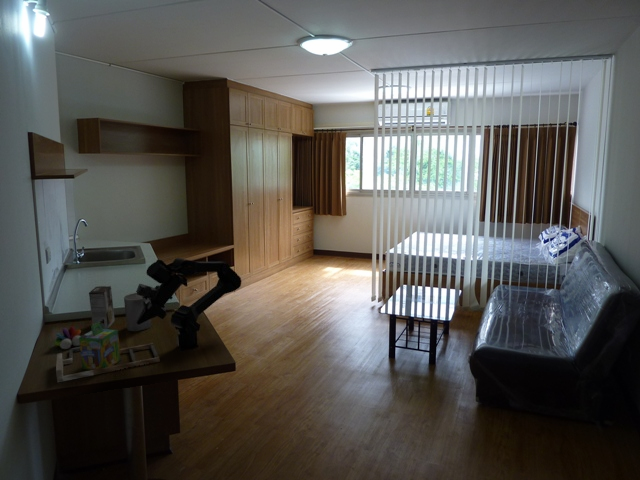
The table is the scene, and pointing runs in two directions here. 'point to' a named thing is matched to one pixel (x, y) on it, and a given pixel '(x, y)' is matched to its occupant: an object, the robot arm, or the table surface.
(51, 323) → the table surface
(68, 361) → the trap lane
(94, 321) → the coffee box
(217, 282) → the robot arm
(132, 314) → the pillar candle
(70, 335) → the rainbow disc cluster
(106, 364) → the chalk box
